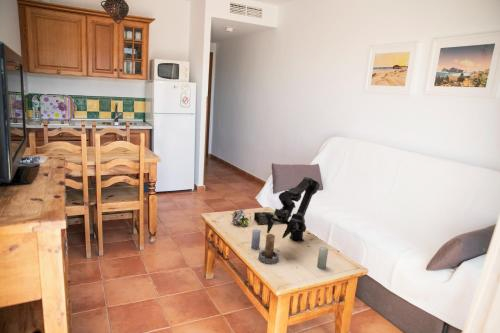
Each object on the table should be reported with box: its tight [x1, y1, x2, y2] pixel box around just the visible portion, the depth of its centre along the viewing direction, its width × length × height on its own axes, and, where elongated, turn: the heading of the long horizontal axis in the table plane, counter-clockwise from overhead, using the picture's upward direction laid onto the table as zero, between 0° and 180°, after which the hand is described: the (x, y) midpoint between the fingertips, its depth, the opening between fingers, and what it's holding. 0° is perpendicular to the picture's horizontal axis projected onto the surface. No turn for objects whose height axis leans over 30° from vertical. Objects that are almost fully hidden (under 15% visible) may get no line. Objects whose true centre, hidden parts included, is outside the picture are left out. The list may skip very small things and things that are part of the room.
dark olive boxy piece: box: [253, 211, 284, 226], centre depth 233 cm, size 20×10×6 cm, turn 106°
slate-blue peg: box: [250, 228, 261, 251], centre depth 192 cm, size 4×4×10 cm
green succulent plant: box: [232, 208, 252, 228], centre depth 225 cm, size 11×11×12 cm
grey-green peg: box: [316, 246, 329, 270], centre depth 176 cm, size 4×4×10 cm
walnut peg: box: [264, 233, 276, 258], centre depth 180 cm, size 4×4×13 cm
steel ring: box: [257, 249, 280, 265], centre depth 181 cm, size 10×10×2 cm
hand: (275, 235), depth 183 cm, fingers open, 9 cm apart
